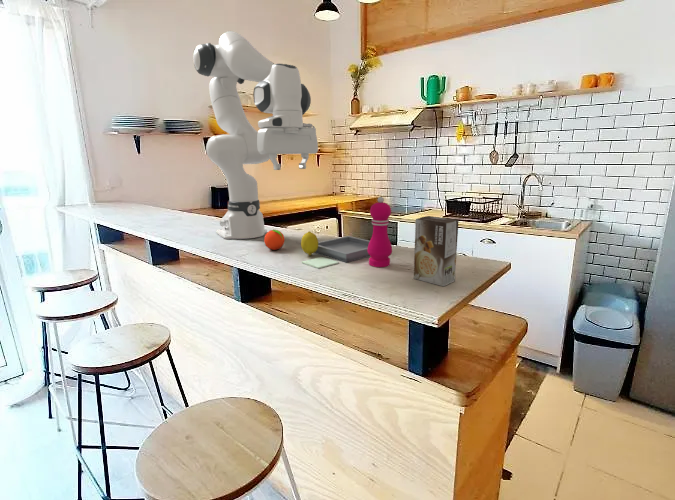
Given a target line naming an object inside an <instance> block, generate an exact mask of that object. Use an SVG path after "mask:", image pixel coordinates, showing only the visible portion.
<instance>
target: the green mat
mask: <svg viewBox="0 0 675 500" xmlns="http://www.w3.org/2000/svg"><path fill="white" fill-rule="evenodd" d="M339 263H340V261H339V260H335V259H332V258H329V257H326V256H320V257H315V258H312V259H307V260H303V261H301V264H303V265H307V266H310V267H313V268H316V269H323V268H326V267H330V266H335V265H338V264H339Z"/></svg>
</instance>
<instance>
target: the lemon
mask: <svg viewBox="0 0 675 500" xmlns="http://www.w3.org/2000/svg"><path fill="white" fill-rule="evenodd" d="M318 242H319V239H318V236H317V235H316V234H315V233H313V232H312V231H310V230H309V231H308V232H306V233H303V235H302V237H301V240H300V246H301V250H302V252H304V254H307V255H308V256H312V255H313V254H316V253H315V252H316V251H317V249H318Z"/></svg>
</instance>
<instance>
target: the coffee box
mask: <svg viewBox="0 0 675 500" xmlns="http://www.w3.org/2000/svg"><path fill="white" fill-rule="evenodd" d="M459 222H460V221H459V219H455V218H449V217H442V216H441V217H439V216H430V215H426V216H421V217H418V218H416V219H415V224H414V225H415V228H414V229H415V230H414V233H415V234H414V259H413V279H414V280H418V281H422V282H426V283H430V284H434V285H436V286H441V287H445V286H448V285H449V284H451V283H453V282H455V281H456V266H457V265H456V264H457V252H458V251H457V250H458V234H459Z"/></svg>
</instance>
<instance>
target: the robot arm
mask: <svg viewBox="0 0 675 500" xmlns="http://www.w3.org/2000/svg"><path fill="white" fill-rule="evenodd" d="M219 37H220V38H219V39H218V44H213V43H212V44H211V42H208V43H201V44H198V45H197V46H196V47H195V48H194V50H193V54H192V61H193V65H194V68H195V70H196V72H197V73H198V74H199V75H202V76H204V77H211V78H212V77H213V78H212V79H210V81H209V84H208V91H209V92H208V93H209V97H210V99H209V100H210V103H211V107H212V111H213V113H214V116H215V120H216V123H217V125H218V127H219V128H220V129H221V130H222V131H224V132H226V133H227V134H217V135H214V136H211V137H209V139H207V140H208V141H207V143H206V146H205V152H206V155H207V157H208V159H209V160H210V161H211V162H212V163H214V165H216V167H218V168H219V169H220V171H221V172H222V173H223V175H224V177H225V180H226V182H227V190H228V197H229V200H228V201H227V211H226V213H225V214H224V216H222V218H221V220H220V221H219V226H220V227H221V229H220V228H219V229H216V232H215V234H217V235H219V236H220V237H221V238H222V239H225V240H230V239H234V240H237V239H238V240H241V239H247V240H248V239H254V238H255V239H256V238H260V237H263V236H265V235H266V233H267V232H268V229H265V221H264V215H263V213H262V212H261V210H260V209H261V203H260V199H259V192H258V182H257V181H258V180H257V179H256V178H255V177H254V176H252V175H251V174H249V173H247V172H246V170H245V168H244V165H258V164H262V163H265V162H268V161H270V162H271V164H272V166H273V170H274V171H280V170H281V163H279V162H278V160H277V158H278V155H300V157H301V158H302V159H301V161H300V163H298V169H300V170H306V168H307V162H308V160H309V158H310V157H309V156H310V155H311V154H313V155H314V154H316V155H317V153H318V152H319V144H318V137H317V130H316V129H317V128H316V127H315V126H314V125H313V124H312V123H304V121H303V119H304V117H303V115H305V113H306V112H308V110H309V108H310V107H311V105H312V104H311V103H312V96H311V94H310V91H309V90H308V87H306V85H305V84H304V83H302V81H301V75H300V70H299V68H298V67H297V66H296V65H293V64H287V63H274V62H272V61H271V60H270V59H268V58H267V57H266V56H265V55H263V54H262V53H261V52H259V50H257V48H255V47H254V46H253V44H251V43H250V41H249V40H248V39H246V37H244V36H243V35H241V34H240V33H239V32H237V31H233V30H232V31H231V30H230V31H229V30H228V31H226V32H224V33H222V35H220V36H219ZM245 81H249V82H256V85H255V86H254V88H253V96H252V97H253V102H254V105H255V107H256V109H257V110H259V112H261V113H265V114H272V116H268V117H267V118H263V119H260V120H259V121H257V125H258V126H257V127H258V128H259V130H256V129H255V128H254V127H253V125H252V124H251V123H250V122H249V120H248V118H247V114H246V113H245V111H244V108H243V105H242V102H241V97H240V96H239V93H238V90H237V88H238V87H237V84H239V85H242V84H244V82H245Z"/></svg>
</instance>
